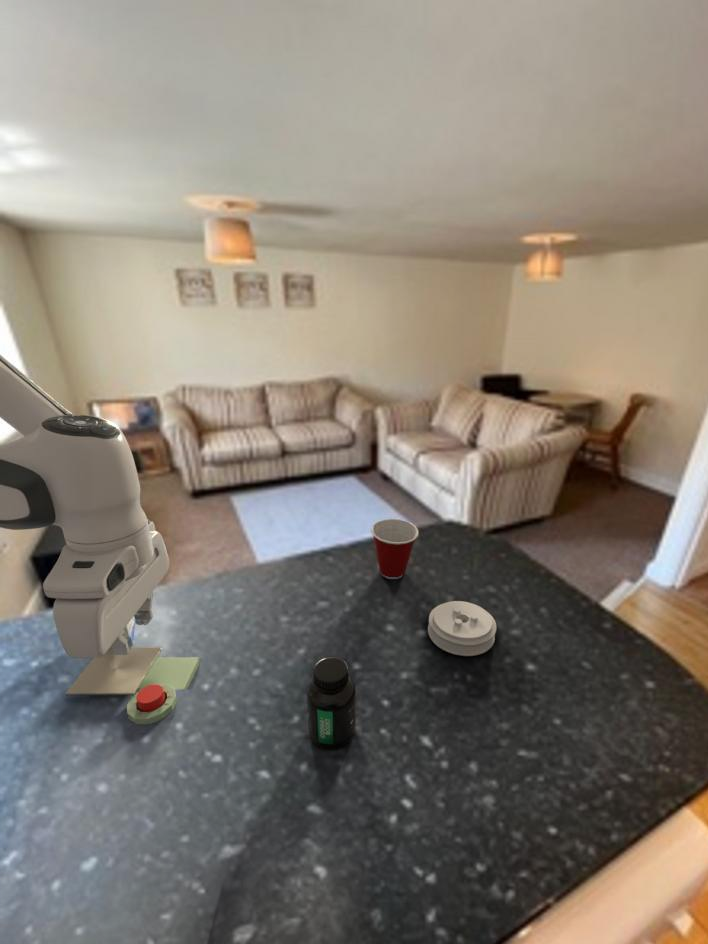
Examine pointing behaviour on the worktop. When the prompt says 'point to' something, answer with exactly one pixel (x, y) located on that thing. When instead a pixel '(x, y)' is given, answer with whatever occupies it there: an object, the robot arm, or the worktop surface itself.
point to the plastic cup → (393, 545)
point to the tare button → (150, 698)
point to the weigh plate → (115, 672)
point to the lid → (462, 628)
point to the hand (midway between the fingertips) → (134, 635)
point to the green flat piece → (164, 686)
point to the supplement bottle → (331, 704)
